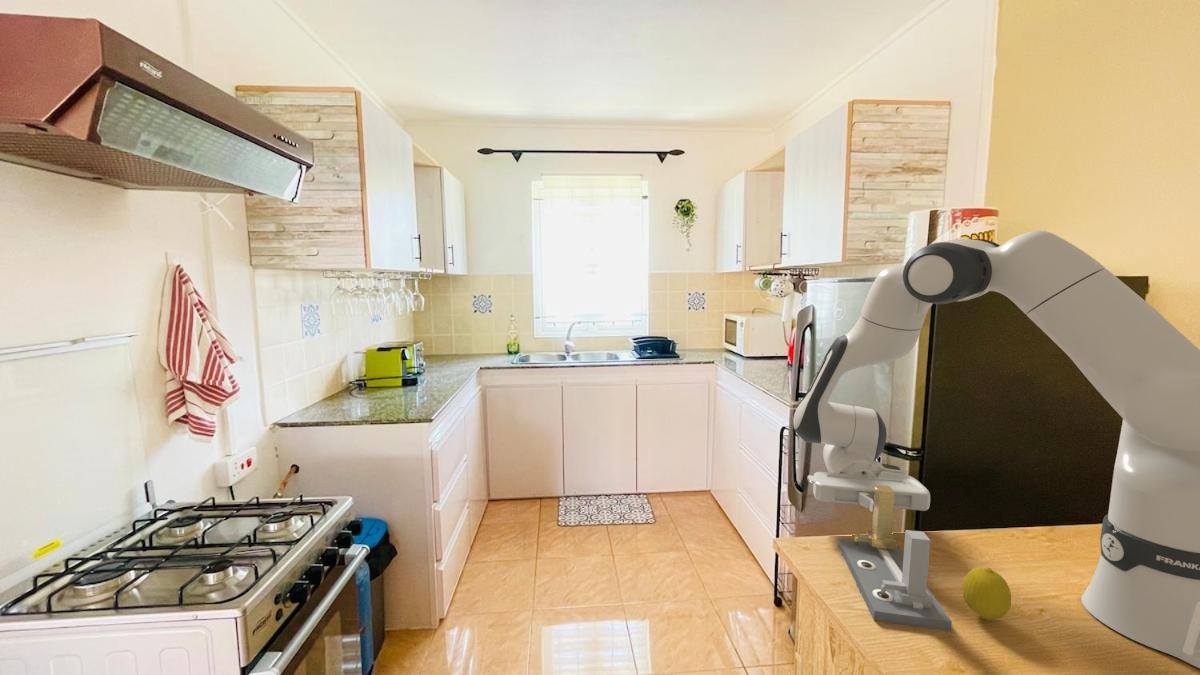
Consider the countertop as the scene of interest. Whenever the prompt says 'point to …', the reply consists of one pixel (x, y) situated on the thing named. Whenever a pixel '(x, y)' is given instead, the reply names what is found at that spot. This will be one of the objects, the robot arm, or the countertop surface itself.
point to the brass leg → (881, 520)
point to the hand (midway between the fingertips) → (881, 509)
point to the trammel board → (896, 581)
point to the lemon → (986, 593)
